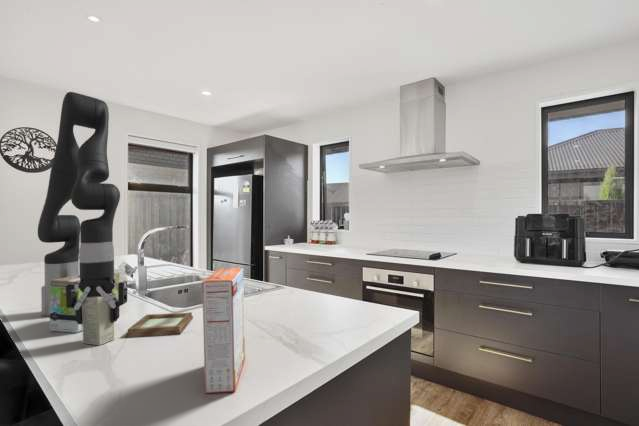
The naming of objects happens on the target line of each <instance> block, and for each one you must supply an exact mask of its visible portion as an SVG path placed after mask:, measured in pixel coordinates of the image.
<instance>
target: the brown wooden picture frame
mask: <svg viewBox="0 0 639 426" xmlns="http://www.w3.org/2000/svg"><path fill="white" fill-rule="evenodd" d="M193 319H194V315H193V313H192V312H191V311H190V312H189V311H188V312H175V313H174V312H171V313H152V314H151V313H149V314H146V315H144V316H143V317H142V318H140V319H139V320H138V321H136V322H135V323H133V325H131V326H130V327H129V328H128V329H127V333H125V338H134V337H135V338H137V337H153V336H154V337H155V336H173V335H176V336H177V335H181V334H182V333H183V332H184V330H186V328H187V326H188V325H189V324H190V323H191V322H192V320H193Z"/></svg>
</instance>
